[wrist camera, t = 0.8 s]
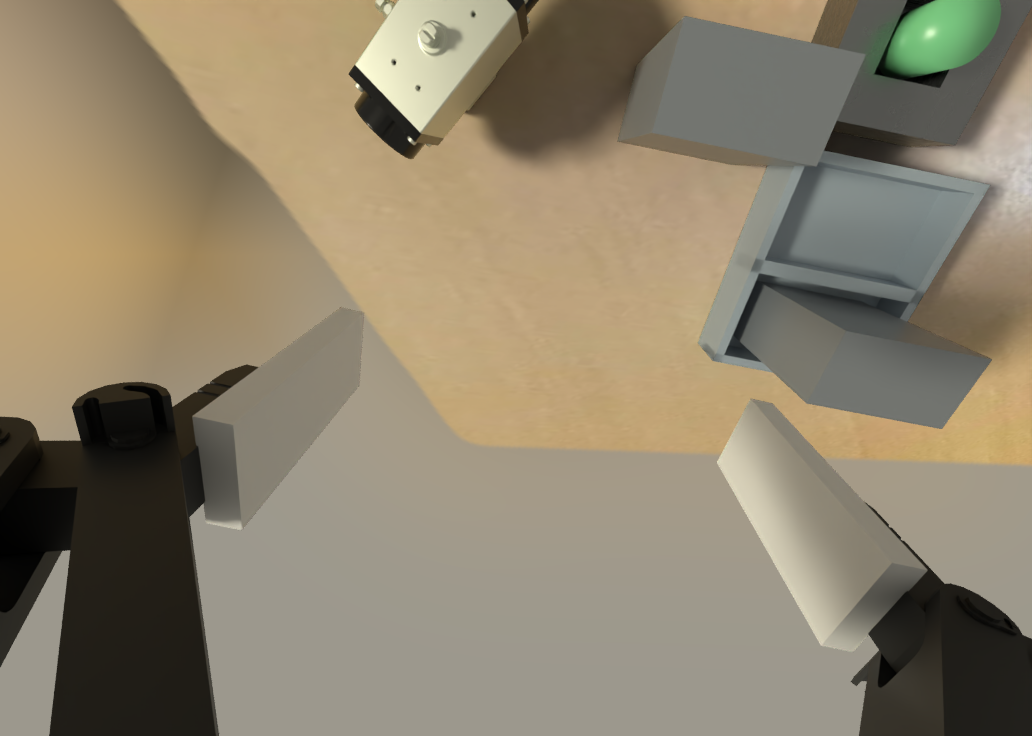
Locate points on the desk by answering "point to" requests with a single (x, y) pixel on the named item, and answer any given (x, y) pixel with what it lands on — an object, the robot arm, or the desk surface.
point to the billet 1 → (738, 95)
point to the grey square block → (914, 101)
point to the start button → (939, 37)
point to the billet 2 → (857, 356)
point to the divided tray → (841, 240)
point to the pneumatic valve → (433, 65)
